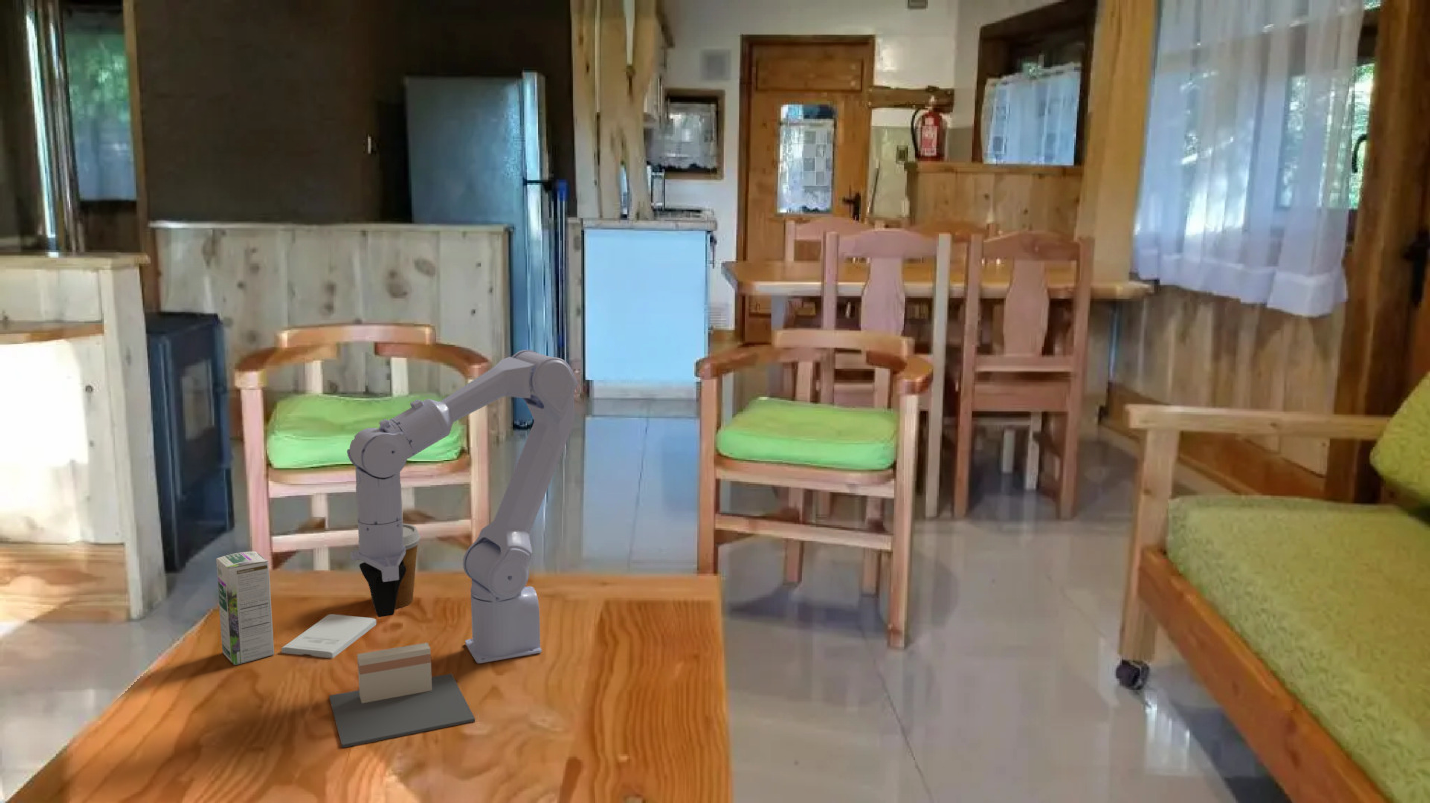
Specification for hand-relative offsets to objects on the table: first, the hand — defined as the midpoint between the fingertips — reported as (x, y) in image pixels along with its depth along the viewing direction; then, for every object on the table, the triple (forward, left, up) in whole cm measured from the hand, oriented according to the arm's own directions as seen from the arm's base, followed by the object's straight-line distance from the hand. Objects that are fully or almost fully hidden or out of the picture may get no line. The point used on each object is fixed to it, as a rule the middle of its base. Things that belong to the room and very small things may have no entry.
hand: (385, 614), depth 146 cm
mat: (0, +10, -9) cm, 14 cm away
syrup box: (+17, -16, -10) cm, 25 cm away
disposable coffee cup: (-5, -28, -10) cm, 30 cm away
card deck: (0, +6, -9) cm, 11 cm away
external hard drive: (+6, -17, -10) cm, 21 cm away
